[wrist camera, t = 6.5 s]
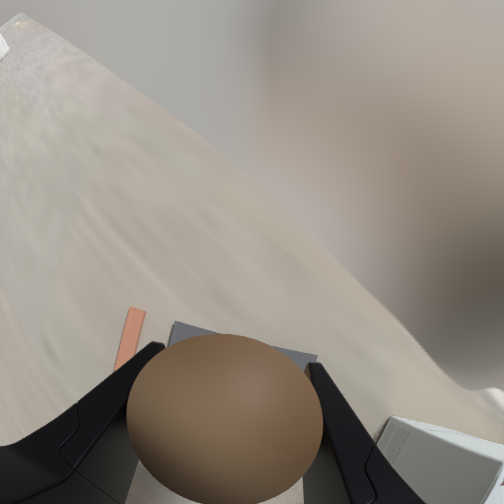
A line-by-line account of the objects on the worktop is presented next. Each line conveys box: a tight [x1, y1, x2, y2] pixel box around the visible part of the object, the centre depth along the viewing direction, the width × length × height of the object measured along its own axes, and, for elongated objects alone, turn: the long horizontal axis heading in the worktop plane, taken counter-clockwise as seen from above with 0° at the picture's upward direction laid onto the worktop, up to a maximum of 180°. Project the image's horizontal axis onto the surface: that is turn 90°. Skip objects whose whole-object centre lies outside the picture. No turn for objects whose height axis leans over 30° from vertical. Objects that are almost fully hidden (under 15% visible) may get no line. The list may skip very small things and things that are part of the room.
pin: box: [127, 334, 323, 504], centre depth 11 cm, size 4×4×11 cm
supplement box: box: [377, 416, 504, 504], centre depth 10 cm, size 7×7×13 cm
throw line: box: [114, 307, 146, 372], centre depth 18 cm, size 12×1×1 cm, turn 166°
